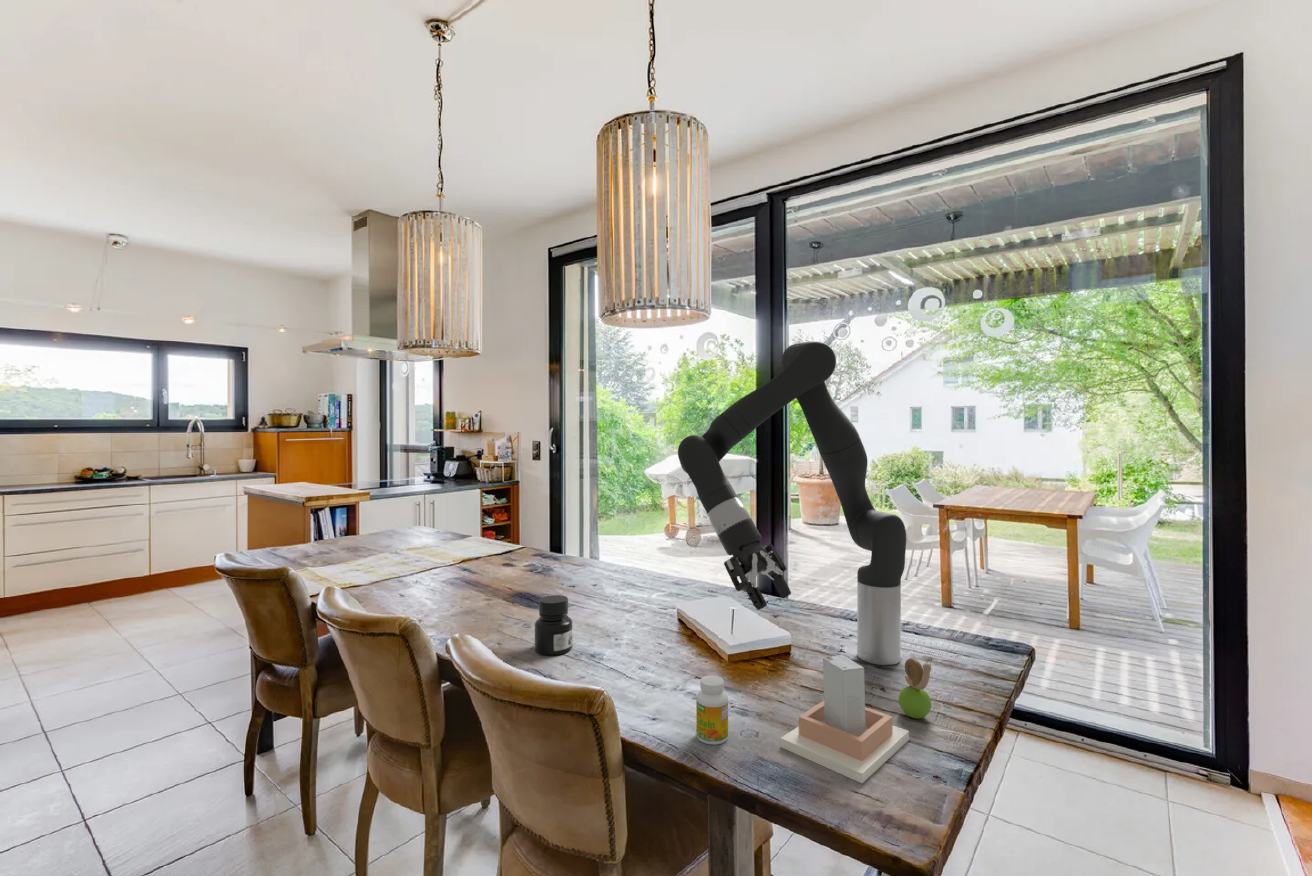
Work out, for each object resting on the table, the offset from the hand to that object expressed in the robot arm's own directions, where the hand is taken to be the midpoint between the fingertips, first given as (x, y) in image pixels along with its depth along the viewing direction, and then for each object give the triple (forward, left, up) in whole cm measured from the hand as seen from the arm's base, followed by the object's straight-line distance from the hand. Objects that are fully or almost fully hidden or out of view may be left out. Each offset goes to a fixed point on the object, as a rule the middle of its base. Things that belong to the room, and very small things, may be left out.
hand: (775, 602), depth 110 cm
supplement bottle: (+17, -1, -20) cm, 26 cm away
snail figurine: (-14, +21, -20) cm, 32 cm away
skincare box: (+3, +16, -18) cm, 24 cm away
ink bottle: (+13, -53, -20) cm, 58 cm away
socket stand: (+3, +16, -20) cm, 25 cm away
